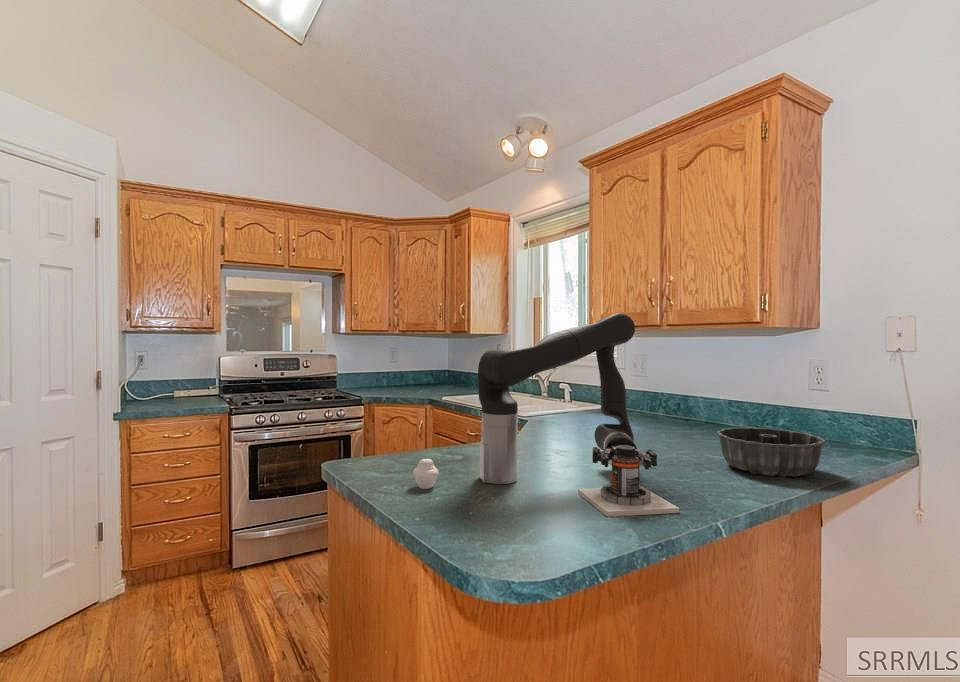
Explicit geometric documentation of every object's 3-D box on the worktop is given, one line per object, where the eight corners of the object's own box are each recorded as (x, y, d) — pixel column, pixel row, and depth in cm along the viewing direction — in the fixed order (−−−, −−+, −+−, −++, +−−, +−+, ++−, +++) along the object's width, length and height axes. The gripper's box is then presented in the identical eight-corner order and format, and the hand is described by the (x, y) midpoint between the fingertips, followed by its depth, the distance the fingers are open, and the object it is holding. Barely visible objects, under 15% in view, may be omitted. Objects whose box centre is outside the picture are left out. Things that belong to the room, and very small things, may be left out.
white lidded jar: (413, 483, 124) (413, 455, 124) (438, 483, 125) (438, 455, 125) (412, 491, 118) (412, 461, 118) (438, 490, 119) (438, 461, 119)
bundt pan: (765, 485, 126) (766, 445, 126) (697, 461, 152) (697, 428, 152) (849, 480, 132) (850, 442, 132) (770, 457, 158) (770, 426, 158)
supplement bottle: (607, 493, 114) (607, 444, 114) (633, 493, 114) (633, 443, 114) (617, 502, 108) (617, 449, 108) (643, 501, 108) (644, 449, 108)
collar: (613, 506, 105) (613, 499, 105) (593, 491, 115) (593, 485, 115) (659, 504, 107) (660, 497, 107) (636, 490, 117) (636, 483, 117)
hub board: (606, 516, 102) (606, 511, 102) (578, 493, 118) (578, 488, 118) (679, 512, 104) (679, 508, 104) (641, 490, 120) (641, 486, 120)
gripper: (590, 432, 126) (593, 445, 110) (649, 434, 124) (661, 448, 108) (590, 462, 126) (593, 479, 110) (649, 465, 124) (661, 482, 108)
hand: (626, 463), depth 109 cm, fingers open, 8 cm apart
